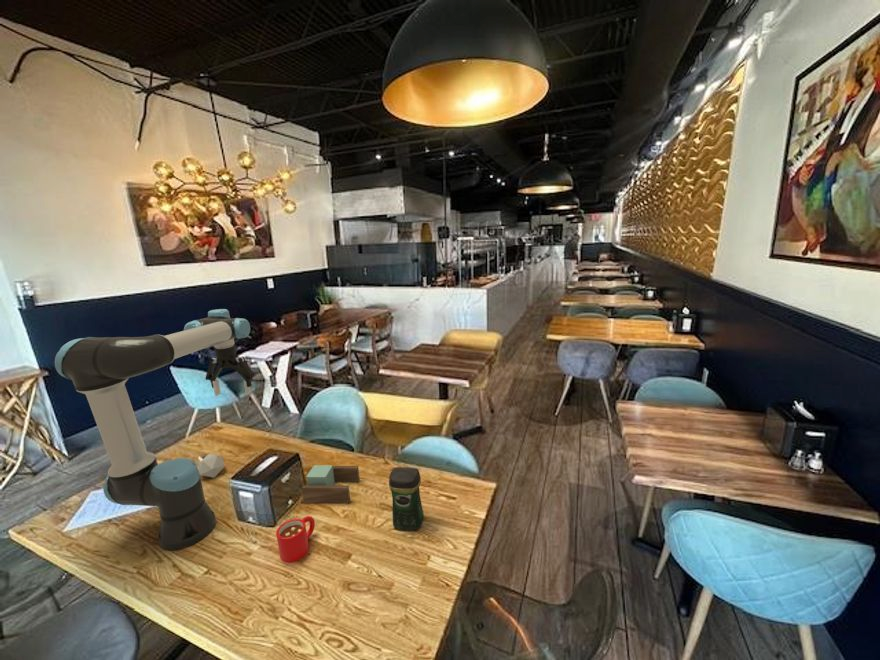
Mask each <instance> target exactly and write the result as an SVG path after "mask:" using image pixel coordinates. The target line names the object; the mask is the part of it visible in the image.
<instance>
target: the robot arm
mask: <svg viewBox="0 0 880 660" xmlns="http://www.w3.org/2000/svg"><path fill="white" fill-rule="evenodd" d="M250 333H251V324H250V322H249V321H248V320H247V319H246V318H240V317H235V318H231V316H230V311H229V310H228V309H226V308H219V309H217V308H216V309H211V310H209V311H208V312H207V317H205V318H200V319H194V320H192V321H189V322H187V323H186V324H185V325H184V328H183V330H182V331H176V332H174V333H170V334H167V335H162V334H152V335H148V336H132V337H130V336H115V337H114V336H113V337H109V336H108V337H94V336H87V337H84V338H83V337H81V338H76V339H72V340H70V341H68V342H66V343H65V344H63V345H62V346H60V349H59V350H58V352H57V353H56V355H55V358H54V367H55V368H54V369H55V370H56V372H57V373H58V374H59V375H60V376H61V377H63V378H65V379H67V380H71V381H72V383H73V387H74V389H75V391H76V392H78V393H80V394H83V395H85V397H86V399H87V402H88V404H89V405H88V406H89V407H90V410H91V413H92V415H93V418H94V421H95V423H96V426H97V428H98V431H99V435H100V437H101V439H102V442H103V445H104V448H105V451H106V453H107V456H108V459H109V461H110V463H111V464H110V465H111V466H110V467H109V468H108V470H107V475H106V477H105V479H104V480H105V482H104V483H103V485H102V486H103V487H102V488H103V494H104V496H105V498H106V499H107V500H108V501H109V502H111V503H113V504H116V505H121V506H146V507H148V506H149V507H157V510H158V513H159V517H160V524H159V530H158V531H159V532H158V535H157V537H158V538H157V539H158V543H159V546H160V548H161V549H163V550H165V551H176V550H181V549H184V548H189V547H190V546H192V545H195V544H196V543H198V542H199V541H202V540H203V539H204V538H206V536H208V535H209V534H210V533H211V532H212V531H213V530H214V528H215V526H216V524H217V518H216V514H215V512H214V511H213V510H212V509H211V508H210V506H209V505H208V503H207V502H206V500H205V494H204V489H203V484H202V479H201V475H200V472H199V468H198V464H197V463H196V462H195V461H194V460H193V459H190V458H186V457H185V458H184V457H180V458H179V457H178V458H174V459H168V460H164V461H162V462H160V463H159V462H158V460H157V457H156V455H155V454H154V453H153V452H151V451H147V447H146V444H145V441H144V438H143V435H142V432H141V430H140V426H139V423H138V421H137V418H136V414H135V411H134V409H133V406H132V403H131V400H130V396H129V393H128V391H127V388H126V385H125V384H126V383H127V381H128V380H129V378H130V379H131V378H133V377H137V376H141V375H143V374H146V373H149V372H152V371H155V370H157V369H161V368H164V367H165V366H169V365H170V364H172V363H173V362H174V360H176V359H178V358H181V357H183V356H187V355H190V354H193V353H195V352H198V351H202V350H204V349H208V348H210V347H213V348H214V355H215V356H213V357H211V358H209V366H208V368H207V371H206V375H205V377H204V378H205V380H206V381H208V380H209V381H210V384H211V385H210V386H211V388H212V389H213V392H214V397H218V396H219V395H221V394H222V392H221V387H220V382H219V379H218V377H219V375H220V374H221V372H222V370H223V369H232V370H234V371H236V372H237V374H239V376H241V377H242V378H243V379H244V380H243V386H244V392H245V396H249V395H250V394H252V389H251V387H252V386H253V385H252V379H253V378H255V373H254V372H253V370H252V369H251V367H250V366H249V365H248V363H247V361H246V359H245V356H241V357H237V349H236V346H235V345H236V344H235V339H238V340H239V339H245V338H247V337H248V336H249V334H250ZM216 364H218V365H217V367H216Z"/></svg>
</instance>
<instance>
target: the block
mask: <svg viewBox="0 0 880 660" xmlns="http://www.w3.org/2000/svg"><path fill="white" fill-rule="evenodd" d="M333 466H334V465H330V464H329V465H327V464H325V465H323V464H322V465H321V464H320V465H313V466H312V468H311V469H310V470H309V472H308V473H307V475H306V476H305V478H306V485H336V482H335V481H334V473H333Z"/></svg>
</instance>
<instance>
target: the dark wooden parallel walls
mask: <svg viewBox="0 0 880 660" xmlns="http://www.w3.org/2000/svg"><path fill="white" fill-rule="evenodd" d="M333 473H334V481H335V483H360V470H359V465H333ZM301 493H302V498H301V500H300V504H346V505H347V504H350V503H351V497H350V496H351V494H350V487H349V485H342V484H341V485H340V484H339V485H337V484H335V485H307V484H306V485H302V487H301Z"/></svg>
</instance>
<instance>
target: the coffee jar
mask: <svg viewBox="0 0 880 660" xmlns="http://www.w3.org/2000/svg"><path fill="white" fill-rule="evenodd" d="M420 474H421V473H420V470H419V469H418V468H416V467H408V466H406V467H405V466H403V467H402V466H399V467H398V466H396V467H393V468H392V470H391V471H390V473H389V478H388V487H389V489H390V492H391V498H392V514H391V515H392V525H393V527H394V529H397V530H401V531H402V530H403V531H417V530H418V529H420V528H421V527H422V525H423V522H424V518H425V517H424V516H425V515H424V509H423V505H422V501H421V500H422V499H421V493H420V487H421V482H422V478H421V475H420Z"/></svg>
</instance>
